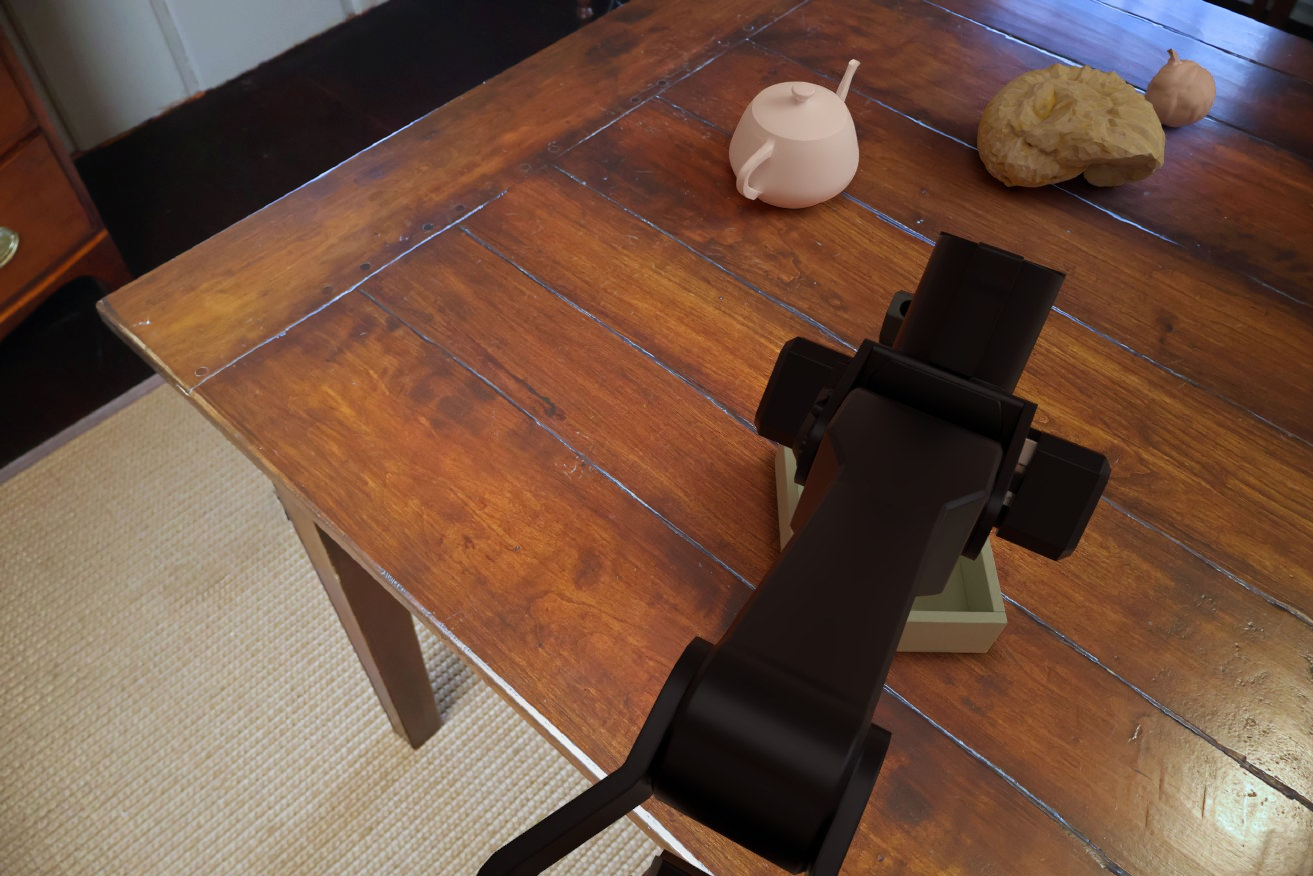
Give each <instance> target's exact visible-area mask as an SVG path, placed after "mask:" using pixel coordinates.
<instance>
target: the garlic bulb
mask: <svg viewBox="0 0 1313 876" xmlns="http://www.w3.org/2000/svg"><path fill="white" fill-rule="evenodd" d="M1166 52H1167V53H1168V56H1169V58H1168V59H1167V62H1166V63H1165V64H1164V65H1163V66H1162V67H1160V69H1159V70H1158V71H1157V73H1156V74H1155V75H1154V76H1153V77H1152V78H1151V80H1150V81H1149V82H1148V84H1147V87H1146V91H1145V93H1144V94H1143V96H1144V97H1145V99H1146V101H1148V102H1150V103H1151V104H1152V105H1153V108H1154V111H1155V112H1156V114H1157V116H1158V118H1159V120H1160V123H1161V125H1165V126H1167V127H1170V128H1181V127H1184V126H1190V125H1194V124H1195V123H1198V122H1199V121H1202V120H1203V119H1205V118H1206V117H1207V116H1208V114H1209V113H1210V111H1211V110H1212V107H1213V106H1214V103H1215V101H1216V97H1217V86H1216V81H1215V79H1214V78H1215V77H1214V76H1213V75H1212V73H1211V72H1210V71H1209V70H1208V69H1207V68H1205V67H1203V66H1202V65H1200V64H1199V63H1197V62H1196V61H1194V60H1192V59H1186V58H1185V59H1180V58H1179V53H1178V52H1177V51H1176V50H1174V49H1173V48H1172V47H1170V48H1169V49H1167V50H1166Z"/></svg>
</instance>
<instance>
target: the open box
mask: <svg viewBox="0 0 1313 876" xmlns="http://www.w3.org/2000/svg"><path fill="white" fill-rule="evenodd" d="M796 469H797V466H796V459H795V457H794V454H793V452H792V449H790V448H788V447H785V446H783V445H781V444H778V443H777V448H776V453H775V458H774V470H775V471H774V472H775V485H776V499H777V513H778V514H777V515H778V526H779V528H778V529H779V540H780V541H779V542H780V552H781V551H782V550H783V548H784V547H785V545H786V544H787V543H788V541H789V540H790V538H791V537H792V535H793V534H794V533H793V531H792V529H791V527H790V522H791V520H792V517H793V514H794V512H795V509H796V506H797V504H798V501H799V499H800V496H801V493H802V491H803V488H804V487H803V486H801V485H799V484H796V483H794V477H795V472H796ZM1007 626H1008V617H1007V614H1006V609H1005V604H1004V600H1003V595H1002V590H1001V585H1000V581H999V576H998V572H997V568H996V563H995V559H994V553H993V549H992V544H991V539H990V535H989V536H988V538H987V541H986V542H985V544H984V546H983V548H982V550H981V552H980V554H979V555H978V557H977V558H976V560H975V561H973V560H971V559H969V558H967V557H964V556H962V555H960V557H959V559H958V561H957V563H956V565H955V567H954V569H953V572H952V574H951V576H950V578H949V580H948V582H947V584H946V586H945V588H944V590H943V592H942V593H940V594H937V595H931V596H918V597H915V600H914V603H913V605H912V608H911V611H910V614H909V617H908V619H907V622H906V625H905V628H904V631H903V633H902V636H901V639H900V642H899V645H898V648H897V650H896V652H901V653H903V652H905V653H906V652H908V653H909V652H910V653H965V654H966V653H967V654H969V653H970V654H987V653H988V651H989V650H990V648H991V647H992V646H993V644H994V642H995V641H996V640H997V639H998V637H999V635H1001V633H1002V632H1003V631H1004V629H1005V628H1006V627H1007Z"/></svg>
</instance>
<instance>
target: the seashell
mask: <svg viewBox="0 0 1313 876" xmlns="http://www.w3.org/2000/svg"><path fill="white" fill-rule="evenodd" d="M1126 82H1127V81H1126V80H1125V79H1124V78H1123V77H1122V76H1119V74H1118V73H1117V72H1116V70H1111V71H1105V72H1103V71H1101V70H1100V68H1098V69H1097V68H1095V69H1094V68H1092V67H1091V66H1090V65H1089V64H1085V65H1082V66H1081V67H1080V66H1078V65H1076V64H1075V65H1071V66H1067V65H1066V64H1061V63H1059V62H1057V63H1054V64H1051V65H1049V66H1047V67H1045V68H1041V69H1033V70H1029V71H1028V72H1027V71H1026V72H1024V73H1022V74H1020V75H1018V76H1017V77H1015V78H1013V79H1011V80H1010V81H1009V82H1007V83H1006V84H1005V85H1004V86H1003V87H1002V88H1001V89H1000V90H998V91H997V92H996V94H995V96H993V97H992V98H991V99H990V100H989V101H988V103H987V105H986V107H985V109H984V110H983V113H982V116H981V117H980V119H979V122H978V127H977V138H976V145H977V148H976V150H977V151H978V156H979V159H980V160H981V162H982V163H983V164H984V166H985V169H986V171H987V172H988V173H989V174H990V175H991V176H992V177H993V178H994V179H997V180H998V181H999V182H1002V183H1003V184H1004V185H1005V187H1008V188H1011V187H1015V186H1018V187H1025V188H1026V187H1027V188H1039V187H1044V186H1046V185H1053V184H1058V183H1062V182H1065V181H1070V180H1072V179H1075V178H1077V177H1078V176H1079V175H1082V173H1083V178H1084V179H1085V180H1086V181H1087V183H1089V184H1090V185H1092V186H1094V187H1095V186H1096V187H1100V188H1101V187H1116V186H1118V187H1119V186H1123V185H1124V184H1127V183H1129V184H1131V183H1132V184H1133V183H1136V182H1140V181H1143V180H1145V179H1148V178H1149V177H1150V176H1152V175H1154V173H1155V171H1156V169H1159V168H1162V167H1163V165H1164V162H1165V146H1166V132H1165V131H1164V129H1163V126H1162V124H1161V123H1160V120H1159V118H1158V116H1157V114H1156V112H1155V111H1154V108H1153V105H1152V104H1151V103H1150V102H1148V101H1146V99H1145V97H1144V94H1143V93H1142V92H1139V91H1137V90H1136V88H1135V86H1133V85H1132V84H1129V83H1126Z"/></svg>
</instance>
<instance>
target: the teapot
mask: <svg viewBox="0 0 1313 876" xmlns="http://www.w3.org/2000/svg"><path fill="white" fill-rule="evenodd" d="M860 65H861V62H860V60H856V59H854V58H853V59H851V60H849V62H848V65H847V68H846V70H845V72H844V74H843V77H842V79H841V80H840V83H839V85H838V87H837V90H836V92H834V91H832V90H831V89H829V88H827V87H826V86H823V85H819V84H815V83H811V82H807V81H784V82H778V83H776V84H771V85H770V86H768V87H766V88H764V89H762V90H761V91H759V93H757V94H756V96H755V97H754V98H753V99H752V100H751V101H750V103H748V105H747V107H746V108H745V110H744V112H743V113H742V115H741V117H740V120H739V121H738V123H737V126H736V128H735V130H734V132H733V135H732V137H731V140H730V143H729V147H728V157H729V163H730V167H731V169H732V171H733V174H734V176H735V178H736V181H735V182H736V183H735V184H736V185H735V186H736V190H737V192H738V193H739V194H740V195H742V196H743V197H745V198H747V199H749V200H752V201H754V200H756V199H759V200H760V201H761V202H762V203H766V204H768V205H771V206H774V207H779V208H785V209H804V208H809V207H813V206H815V205H818V204H822V203H824V202H826V201H828V200H831V199H833V198H834V197H837V196H838V195H839V194H841V193H842V192H843V191H844V190H845V189H846V188H847V187H848V186H849V185H850V183H851V182H852V180H853V179H854V177H855V176H856V173H857V171H858V168H859V163H860V150H859V148H860V147H859V141H858V136H857V132H856V127H855V123H854V120H853V117H852V114H851V112H850V110H849V108H848V106H847V104H846V98H847V96H848V93H849V90H850V86H851V82H852V80H853V77H854V75H855V73H856V71H857V69H858V67H859V66H860Z"/></svg>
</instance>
